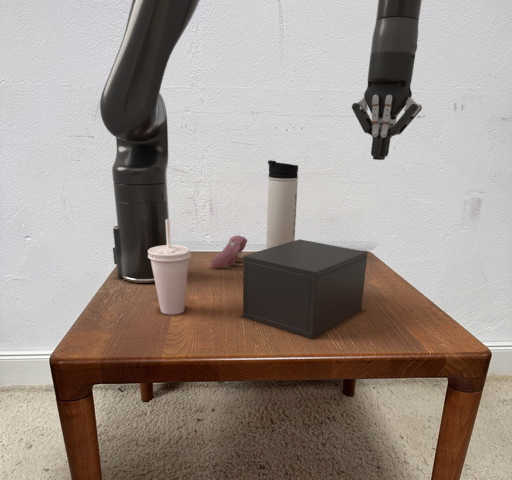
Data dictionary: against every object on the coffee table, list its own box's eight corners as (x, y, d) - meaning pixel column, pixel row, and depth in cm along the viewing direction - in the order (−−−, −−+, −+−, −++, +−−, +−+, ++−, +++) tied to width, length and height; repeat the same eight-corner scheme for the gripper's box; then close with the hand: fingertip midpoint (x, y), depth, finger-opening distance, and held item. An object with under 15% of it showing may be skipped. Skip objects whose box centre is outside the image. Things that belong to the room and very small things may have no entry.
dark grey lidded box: (296, 293, 85) (299, 239, 81) (361, 310, 78) (367, 251, 74) (242, 316, 75) (243, 255, 71) (312, 338, 68) (316, 272, 64)
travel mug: (259, 252, 111) (261, 159, 103) (284, 249, 114) (288, 158, 106) (274, 259, 106) (277, 161, 98) (299, 256, 109) (304, 161, 101)
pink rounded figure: (228, 277, 99) (243, 247, 95) (208, 266, 98) (223, 236, 95) (239, 264, 107) (253, 237, 104) (221, 254, 107) (235, 226, 104)
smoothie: (191, 302, 80) (187, 216, 75) (195, 316, 75) (191, 224, 69) (151, 304, 79) (144, 216, 73) (152, 318, 73) (145, 225, 68)
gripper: (348, 51, 85) (337, 157, 92) (422, 47, 77) (404, 163, 84) (367, 56, 90) (356, 156, 97) (438, 53, 83) (420, 161, 90)
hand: (378, 159), depth 91 cm, fingers closed
